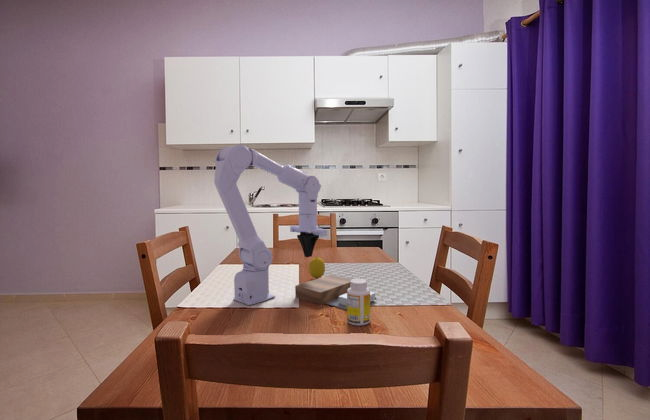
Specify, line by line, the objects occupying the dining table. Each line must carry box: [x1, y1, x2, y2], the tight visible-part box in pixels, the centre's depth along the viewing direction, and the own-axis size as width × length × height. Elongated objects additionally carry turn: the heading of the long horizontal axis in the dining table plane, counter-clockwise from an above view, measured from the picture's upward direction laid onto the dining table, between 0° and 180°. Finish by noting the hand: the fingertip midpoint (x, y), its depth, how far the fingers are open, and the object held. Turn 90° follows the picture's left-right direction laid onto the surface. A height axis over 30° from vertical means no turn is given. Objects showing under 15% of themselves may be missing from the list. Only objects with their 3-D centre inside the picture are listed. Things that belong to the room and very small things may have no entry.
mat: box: [325, 296, 377, 311], centre depth 106 cm, size 13×8×1 cm, turn 139°
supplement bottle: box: [346, 278, 371, 327], centre depth 90 cm, size 6×6×10 cm
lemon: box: [308, 256, 326, 280], centre depth 128 cm, size 6×6×8 cm
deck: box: [294, 274, 354, 306], centre depth 112 cm, size 16×10×4 cm, turn 139°
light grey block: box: [339, 291, 376, 306], centre depth 104 cm, size 9×6×2 cm, turn 139°
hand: (308, 256), depth 119 cm, fingers closed
